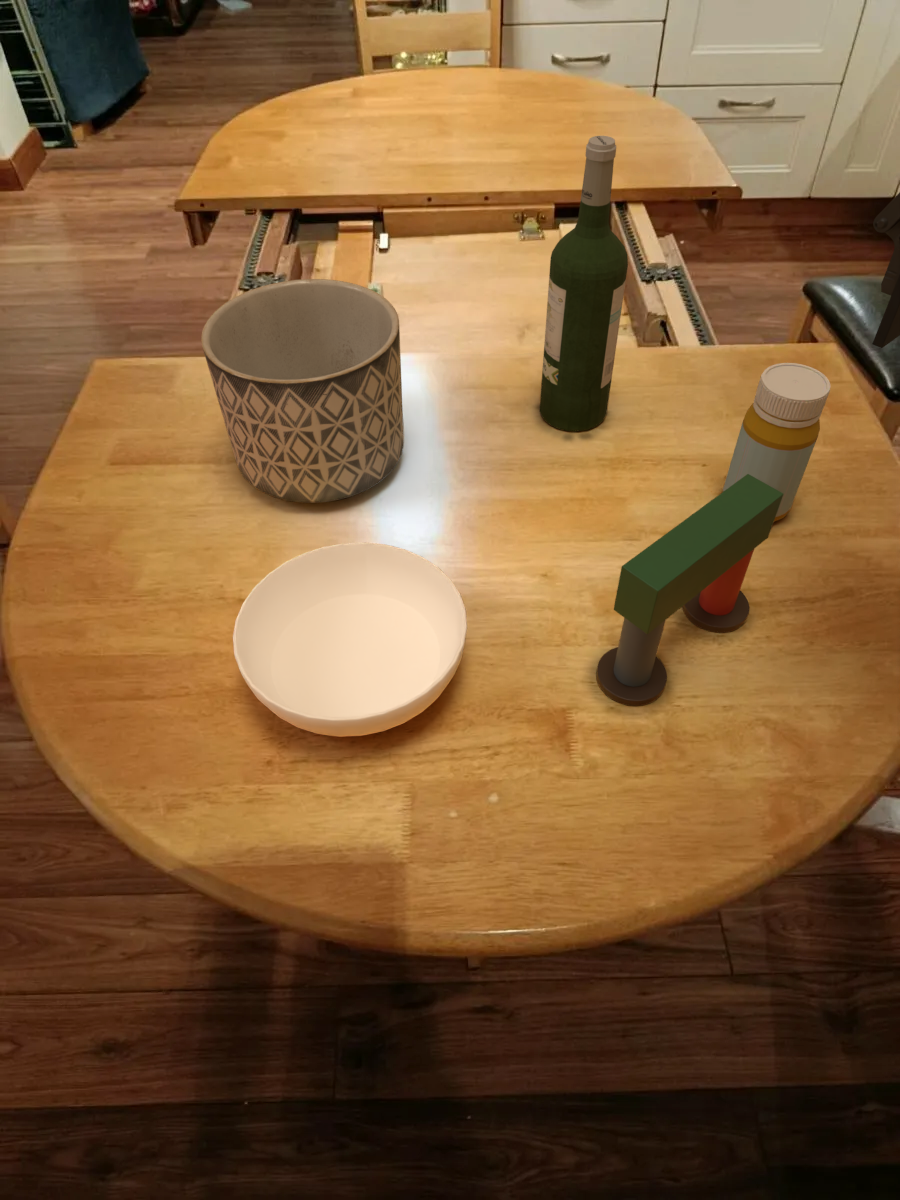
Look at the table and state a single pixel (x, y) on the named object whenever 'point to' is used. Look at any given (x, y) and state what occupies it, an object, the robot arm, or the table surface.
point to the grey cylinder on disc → (633, 667)
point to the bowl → (350, 638)
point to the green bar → (696, 553)
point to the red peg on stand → (721, 601)
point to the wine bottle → (584, 304)
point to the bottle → (780, 430)
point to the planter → (309, 387)
